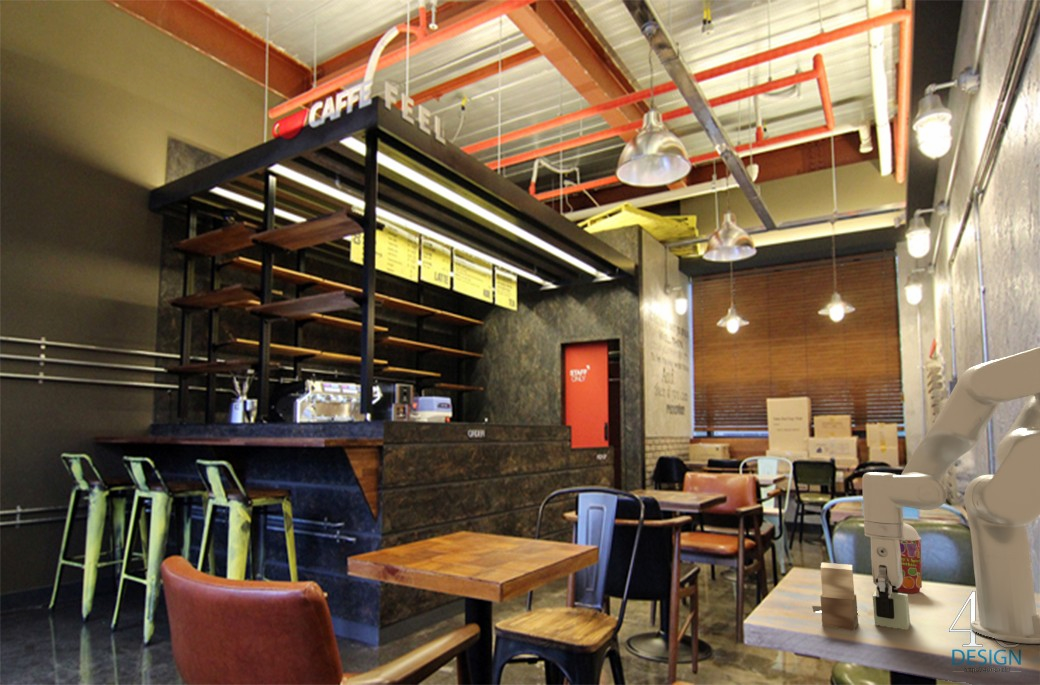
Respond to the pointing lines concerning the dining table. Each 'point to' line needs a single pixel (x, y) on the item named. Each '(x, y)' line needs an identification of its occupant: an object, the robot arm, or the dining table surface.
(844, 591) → the tower top
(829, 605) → the tower base
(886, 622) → the sage block
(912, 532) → the smoothie
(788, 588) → the dining table surface
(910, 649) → the dining table surface
